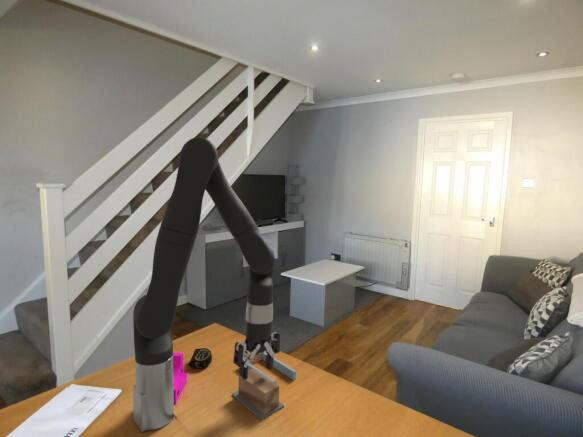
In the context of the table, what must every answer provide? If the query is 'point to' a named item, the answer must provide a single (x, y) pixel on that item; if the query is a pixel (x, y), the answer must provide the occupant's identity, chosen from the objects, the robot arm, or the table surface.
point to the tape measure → (201, 358)
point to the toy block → (178, 376)
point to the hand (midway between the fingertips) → (256, 373)
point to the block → (259, 391)
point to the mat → (253, 408)
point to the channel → (276, 364)
